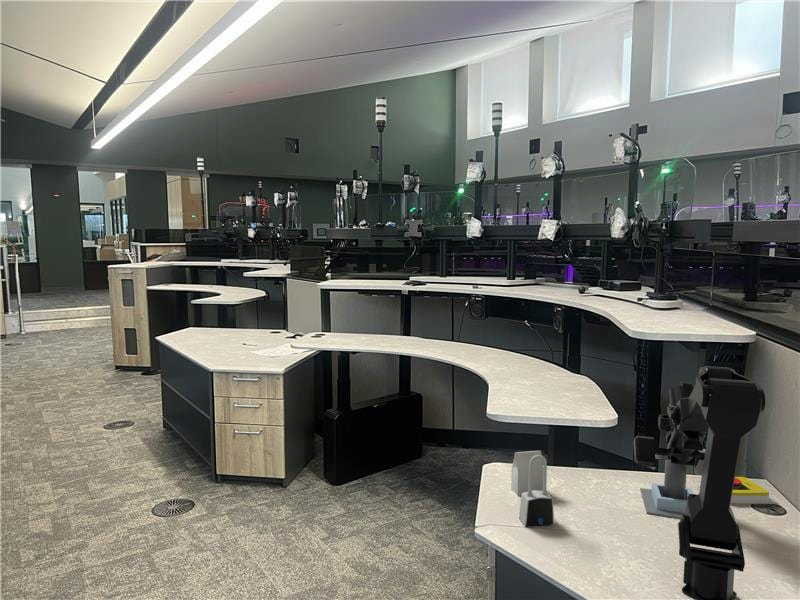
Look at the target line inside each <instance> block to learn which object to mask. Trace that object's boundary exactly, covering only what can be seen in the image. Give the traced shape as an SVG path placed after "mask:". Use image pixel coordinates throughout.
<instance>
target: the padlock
mask: <svg viewBox="0 0 800 600" xmlns="http://www.w3.org/2000/svg"><path fill="white" fill-rule="evenodd" d="M537 458H541V459H542V462H543V467H544V470H543V490H542V491H537V490H533V491H531V490H532V466H533V461H534V460H535V459H537ZM547 469H548V465H547V459H546V457H545V456H544V455H543V454H541V455H535V456H533V457H532V458H531V460H530V464H529V481H528V492H524V493H522V494H521V495H520V503H519V504H520V507H519V514H518V515H519V516H518V520H519V522H520V523H521V524H522V525H523V526H524V528H541V527H547V526H553V525H555V516H554V515H555V514H554V512H555V511H554V498H553V497H552V496H551V495H550V494H549V492H548V491H547V481H548V480H547V479H548V478H547V475H548V473H547V472H548V471H547Z"/></svg>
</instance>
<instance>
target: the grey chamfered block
mask: <svg viewBox="0 0 800 600" xmlns="http://www.w3.org/2000/svg"><path fill="white" fill-rule="evenodd" d="M535 455H542V451H541V450H529V451H519V452H518V451H517V452H516V451H515V452H514V456H513V460H512V465H511V490H512V491H513V493H514V492H515V493H516V494H517V495H518V496H519V495H520V496H521V494H522V493H524V492H528V481H529V464H530V460H531V458H532V457H533V456H535ZM543 470H544V466H543V460H542V459H541V458H537V459H535V460H534V461H533V466H532V490H531V491H533V490H537V491H542V490H543ZM515 493H514V494H515ZM516 494H515V495H516ZM517 495H516V496H517Z"/></svg>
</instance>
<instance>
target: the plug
mask: <svg viewBox="0 0 800 600" xmlns="http://www.w3.org/2000/svg"><path fill="white" fill-rule="evenodd" d="M664 461H665V462H664V463H665V465H664V483H663V485H664V497H666V498H673V499H680V500H685V492H686V488H687V486H686V485H687V467H688V465H682V464H674V463H670V460H664Z"/></svg>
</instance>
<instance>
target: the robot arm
mask: <svg viewBox="0 0 800 600" xmlns="http://www.w3.org/2000/svg"><path fill="white" fill-rule="evenodd" d="M668 393H669V401H670V402H669V403H668V406H667V408H666V413H667V414H666V413H665V414H664V413H663V414H661V413H660V414H659V416H658V420H657V423H658V424H657V425H658V426H657V427H658V430H661V431H663V432H666V436H665V442H666V443H668V444H667V447H666V448H665V447H657V446H655V439H654V437H653V436H644V435H636V436H635V437H634V439H633V451H634V452H633V453H634V463H636V465H640V466H643V467H647V468H650V469H652V470H656V468H657V467H656V465H657V464H656V460H664V461H665V460H670V463H674V464H682V465H687V466H690V467H691V466H692V467H695V469H694V475H696V476H701V478H700V485H699V486H700V491H699V490H698V491H699V492H698V494H695V493H694V494H690V495H689V496H688V497H687V506H686V510H685V515H682V516H681V519H679V522H678V523H677V527H678V528H677V529H678V545H679V546H678V555H679V556H680V557H682V558H684V561H683V562H684V564H683V577H682V578H683V584H684V586H683V587H682V588H681V592H682V593H683V594H685V595H688V596H690V597H692V598H694V599H697V600H734V599H735V598H736V597H737V594H738V593H737V592H736V591H734V584H735V583H734V581H735V571H738V572H741V573H742V572H744V570H745V565H746V562H745V561H746V560H745V555H744V548H743V543H742V537H741V536H742V535H741V529H740V526H739V523H737V521H736V518H735V514H734V512H733V509H732V506H731V504H730V503H731V497H732V492H733V486H734V480H735V477H736V473H737V467H738V462H739V455H740V452H741V444H742V439H743V438H744V436H746V435H747V434H749V433H750V432H751V431H752V430H754V429H755V428H756V427H757V426H758V424H759V423H758V422H759V419H760V416H761V413H763V412H764V411H765V408H766V395H765V391H764V389H763V388H762V387H761V386H760V385H759V383H757V382H756V380H754V379H752V378H749V377H747V376H744V375H742V374H739V373H738V372H736V370H735V369H732V368H730V367H727V366H726V367H723V366H722V367H721V366H707V365H705V366H704V367H702V366H701V367H700V368H699V370H698V375H696V377H695V385H694V386H693V383H689V382H681V385H675V386H673V387H671V388H669V392H668ZM706 436H707V437H706ZM705 437H706V443H705V447H704V444H703V443H704V440H705ZM697 460H698V462H697ZM692 545H695V546H692ZM699 546H700V547H699ZM705 547H707V548H705ZM709 548H713V549H709ZM716 549H718V550H716ZM721 550H725V551H721ZM727 551H731V552H727Z"/></svg>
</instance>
